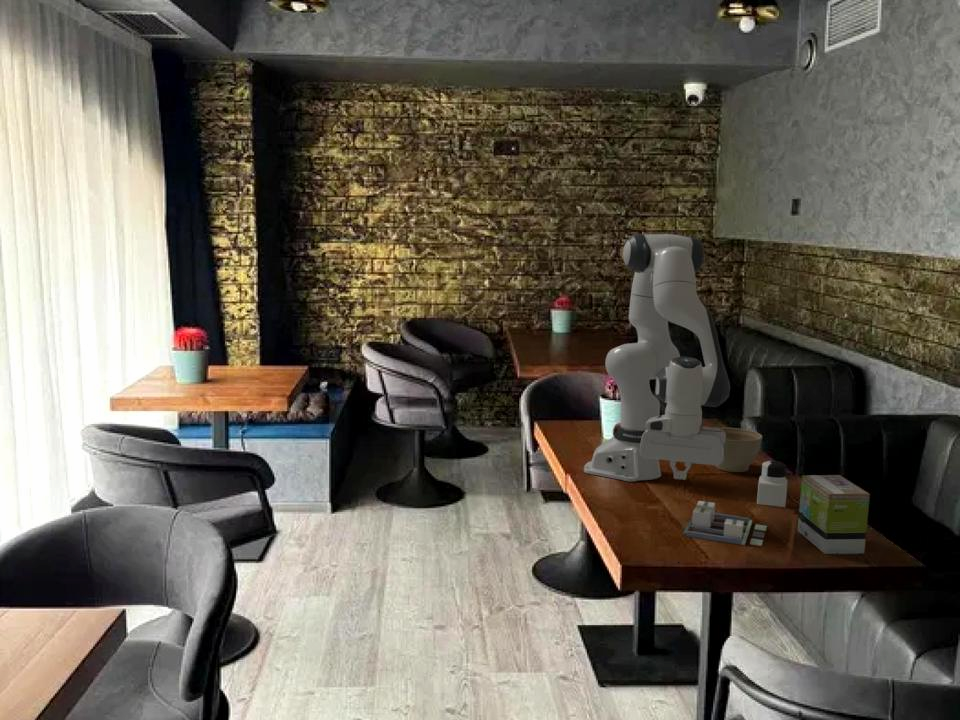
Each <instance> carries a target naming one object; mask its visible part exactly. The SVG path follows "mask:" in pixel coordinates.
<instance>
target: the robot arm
mask: <svg viewBox="0 0 960 720" xmlns="http://www.w3.org/2000/svg"><path fill="white" fill-rule="evenodd" d="M623 246H624V247H623V250H622V258H623V264H624V266H625V267H626V268H627V269H628V271H631V272H633V273H634V275H633V280H632V284H631V289H630V290H631V292H630V299H629V300H630V301H629V309H628V321H629V323H630V324H631V325H632V326H633V327H634V328H635V329H636V333H637V342H632V343H624V344H621V345H619V346H616V347H614V348H612V349H610V350H609V351H608V352H607V355H606V357H605V363H604V364H605V365H604V366H605V370H606V373H607V374H608V376H609V377H610V379H612V380H613V382H615V384H616V386H617V389H618V391H619V397H620V421H619V422H617V423H615V424H614V427H613V429H612V437H611V438H609V439H607V440H606V441H605V442H603V443H602V444H600V445H598V446H597V447H596V449H594V452H593V455H592V458H591V460H590V461H588V462H587V463H585V464H584V466H583V472H584V473H585V474H590V475H595V476H598V477H599V476H600V477H603V478H605V477H606V478H610V479H616V480H621V481H625V482H639V481H648V480H649V481H651V480H656V479H659V478H661V476H662V472H661V469H660V461H659V460H662V461H669V467H670V468H671V469H672V471H673V479H674V480H684V481H685V480H687V475H688V473H687V472H688V471H689V469H690V468H691V467H692V465H693V464H699V465H709V466H715V467H716V466H719V465H720V464H722V462H723V460H724V450H723V445H724V444H725V442H726V434H725V432H724V431H723V430H722V429H720V428H721V427H718V426H709V425H708V426H707V425H702V421H703V420H702V419H703V416H702V415H703V411H702V406H703V407H712V408H717V407H720V406H721V405H722V404H724V402H726V401H727V399H729V397H730V392H731V385H730V380H729V375H728V373H727V369H726V366H725V363H724V359H723V356H722V351H721V346H720V343H719V339H718V334H717V329H716V325H715V322H714V318H713V315H712V312H711V310H710V308H709V307H707V306H705V305H704V304H703V303H702V301H701V300H700V298H699V296H698V293H697V292H698V291H697V282H696V281H697V280H696V273H698V272H699V271H700V270H701V269H702V267H703V264H704V260H705V247H704V244H703V242H702V241H701V239H699V238H697V237H694V236H690V235H687V236H684V235H678V234H672V233H671V234H670V233H664V234H662V233H659V234H658V233H657V234H655V233H653V234H643V233H635V234H632V235H630V236H629V237H628V238H627V239H626V241H625V244H624V245H623ZM669 322H670V323H671V324H675V325H677V326H680V327H682V328H685V329H687V330H689V331H691V332H692V333H693V334H694V335H695V336H696V337H697V338H698V340H699V344H700V348H701V352H702V356H703V357H702V358H703V361H704V362H703V363H704V366H703V365H702V362H701V361H700V360H699V359H697V358H694V357H691V356H681V355H680V351H679V350H678V347H676V345H674V343H673V342H672V338H671V336H670V330H669ZM650 380H655V385H654V394H653V392H652V390H651V386H650ZM660 401H661V402H662V403H665V404H666V407H665V410H664V414H662V415H660V411H661V410H660V409H661V408H660V407H661V404H660ZM720 431H722V432H720ZM678 462H681V463H684V467H686V468H685V469H684V470H678V468H677V466H676V464H677V463H678Z"/></svg>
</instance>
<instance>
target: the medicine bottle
mask: <svg viewBox="0 0 960 720" xmlns="http://www.w3.org/2000/svg"><path fill="white" fill-rule="evenodd" d="M786 476H787V465H786V464H785V463H784V462H781V461H777V460H765V461H764V462H763V463H762V464H761V475H760V476H759V478H758V484H757V495H756V496H757V497H756V504H757V505H761V506H763V505H764V506H770V507H779V508H786V506H787V505H786V503H787V491H788V479H787V478H786Z"/></svg>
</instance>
